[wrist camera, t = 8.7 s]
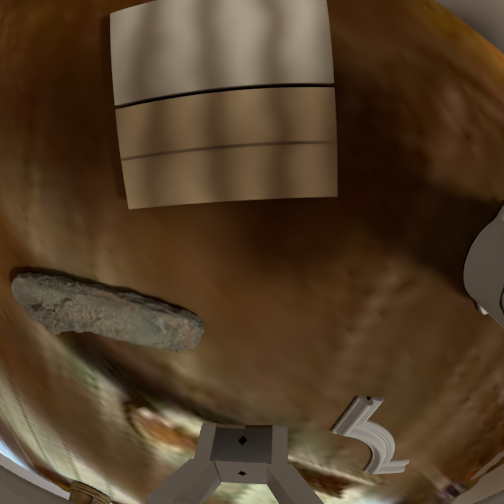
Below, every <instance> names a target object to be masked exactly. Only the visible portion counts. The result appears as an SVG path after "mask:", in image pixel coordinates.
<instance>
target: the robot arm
mask: <svg viewBox="0 0 504 504" xmlns="http://www.w3.org/2000/svg"><path fill="white" fill-rule="evenodd" d="M464 285H465V288H466V291H467V292H468V294H469V295H470V296H471V297H472V298H473V299H474V300H475V301H476V302H477V306H478V309H479V311H480V312H481V313H482V314H489V315H491V316H492V317H493V318H494V319H495V320H496V321H497V322H498V323H499V324H500V325H501V326H502V327H503V328H504V206H503V207H502V208H501V210H500V212H499V213H498V215H497V217H496V218H495V219H494V220H493V221H492V222H491V223H490V224H488V225H487V226H486V227H485V228H484V229H483V230H482V231H481V232H480V234H479V235H478V236H477V238H476V239H475V241H474V242H473V244H472V246H471V248H470V250H469V253H468V255H467V258H466V262H465V266H464ZM221 482H230V483H251V484H267V485H268V487H269V489H270V490H271V492H272V493H273V495H274V496H275V498H276V499H277V501H278V502H279V504H324V503H323V502H322V501H321V499H320V498H319V497H318V496H317V495H316V493H315V492H314V491H313V490H312V489H311V487H310V486H309V485H308V484H307V482H306V481H305V480H304V479H303V477H302V476H301V475H300V474H299V472H298V471H297V470H296V469H295V467H294V466H293V465H292V464H288V428H287V425H276V426H273V425H228V424H216V423H203V425H202V427H201V431H200V436H199V440H198V444H197V449H196V453H195V458H194V459H189V460H188V461H187V462H186V463H185V464H184V465H182V466H181V467H180V468H179V469H178V470H177V471H176V472H174V473H173V474H172V475H171V476H170V477H168V478H167V479H166V480H165V481H164V482H162V483H161V484H160V485H159V486H158V487H156V488H155V489H154V490H153V491H151V492H150V493H149V494H148V495H147V499H146V502H145V504H203V503H204V502H205V501H206V500H207V498H208V497H209V496H210V495H211V494H212V493H213V492H214V491H215V490H216V489H217V487H218V486H219V485H220V484H221ZM0 504H77V503H74V502H72V501H70V500H67V499H65V498H63V497H60V496H58V495H56V494H54V493H51V492H49V491H47V490H45V489H43V488H41V487H39V486H37V485H35V484H33V483H31V482H29V481H27V480H25V479H23V478H22V477H20V476H18V475H16V474H14V473H13V472H11V471H9V470H8V469H6V468H4V467H3V466H1V465H0ZM474 504H504V490H503V491H501V492H499V493H497V494H494V495H492V496H490V497H488V498H486V499H484V500H481V501H479V502H476V503H474Z"/></svg>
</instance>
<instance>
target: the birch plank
mask: <svg viewBox="0 0 504 504" xmlns="http://www.w3.org/2000/svg"><path fill="white" fill-rule="evenodd" d="M110 37H111V61H112V78H113V91H114V102H115V106H117V105H128V104H132V103H137V102H142V101H147V100H152V99H157V98H163V97H169V96H175V95H181V94H188V93H195V92H203V91H211V90H220V89H230V88H241V87H254V86H272V85H331V84H333V83H334V72H333V59H332V48H331V37H330V27H329V18H328V10H327V2H326V0H156V1H152V2H148V3H144V4H140V5H137V6H133V7H130V8H126V9H123V10H120V11H117V12H114V13H111V14H110Z"/></svg>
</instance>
